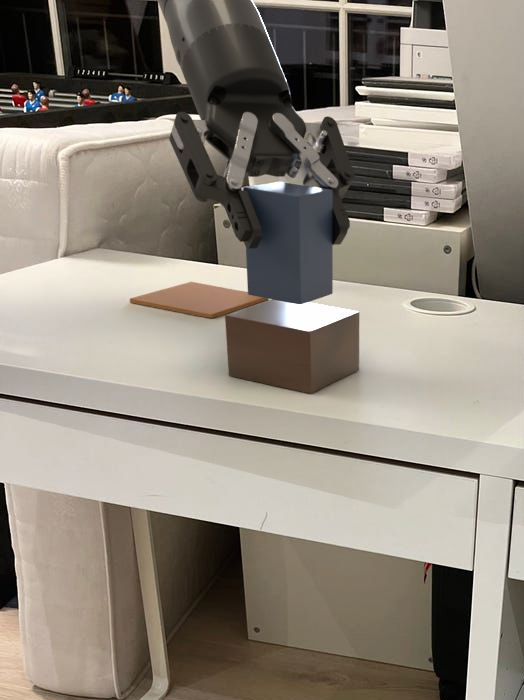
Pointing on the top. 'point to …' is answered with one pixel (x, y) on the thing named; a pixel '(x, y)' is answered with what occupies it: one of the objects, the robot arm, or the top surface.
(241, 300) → the cork mat
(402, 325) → the top surface
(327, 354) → the base block
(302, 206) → the top block
